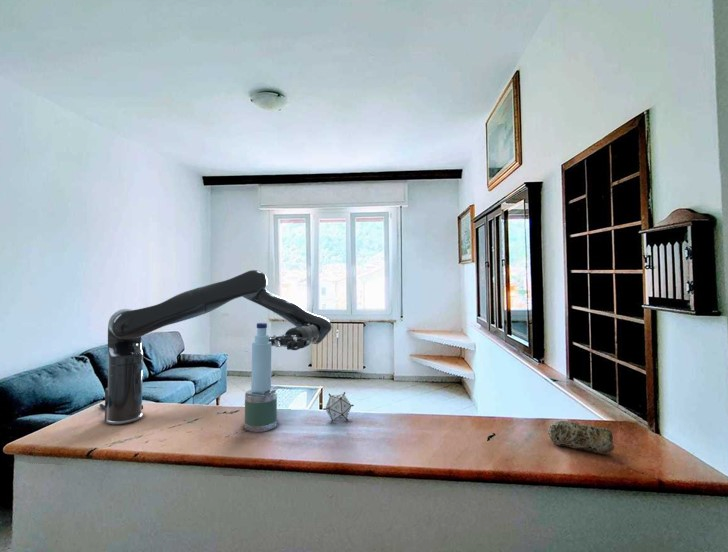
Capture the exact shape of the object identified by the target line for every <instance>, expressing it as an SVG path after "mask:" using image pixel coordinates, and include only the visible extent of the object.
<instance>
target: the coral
mask: <svg viewBox="0 0 728 552" xmlns="http://www.w3.org/2000/svg"><path fill="white" fill-rule="evenodd" d="M547 433H548V436H549V439H550V441H551V443H552V444H553V445H555V446H560V447H561V446H562V447H568V448H573V449H575V450H581V451H586V452H591V453H594V454H599V455H600V454H601V455H608V454H609V453H611V452H613V451H614V450H615V445H614V441H613V440H614V435H613V431H612V430H610V429H609V428H606V427H600V426H595V425H590V424H582V423H580V422H579V423H577V422H572V421H568V420H567V421H566V420H562V419H561V420H557V421H556V420H555V421H554V422H552V423H551V424H550V425H549V427H548V429H547Z"/></svg>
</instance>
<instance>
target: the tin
mask: <svg viewBox="0 0 728 552" xmlns="http://www.w3.org/2000/svg"><path fill="white" fill-rule="evenodd" d="M277 392H278V391H277V389H276V388H271V389H270V390H269V391H267V392H265V393H255V392H252V390H251V389H249V390H247V391H246V392H245V393H244V429H245V430H246V431H248V432H252V433H262V432H268V431H271V430H273V429H275V428H276V427H277V417H278V415H277V414H278V393H277Z"/></svg>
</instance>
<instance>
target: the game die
mask: <svg viewBox="0 0 728 552" xmlns="http://www.w3.org/2000/svg"><path fill="white" fill-rule="evenodd" d="M328 396H329V397H328V400H327V403H326V406H325V407H324V408H322V410H323V411H326V412H327V415H328V416H329V418H330V420H331V421H330V423H331V424H333V423H334V421H343V420H344V421H346V422H349V419H348V417H349V414H350V411H351V408H352V407H354V406H355V405H354V404H352V403H351V402H350V401H349V399H348V398H347V397H346V391H344V392H343V393H342V394H333V395H331V393H328ZM348 412H349V413H348Z"/></svg>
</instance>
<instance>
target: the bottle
mask: <svg viewBox="0 0 728 552" xmlns="http://www.w3.org/2000/svg"><path fill="white" fill-rule="evenodd" d="M267 328H268V323H267V322H258V323H256V329H257V330H256V335H254V341H253V342H251V385H250V386H251V388H250V390H252V392H255V393H265V392H267V391H269V390H270V389H272V346H271V342H269V337H270V336H269V335H268V334H267Z"/></svg>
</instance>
